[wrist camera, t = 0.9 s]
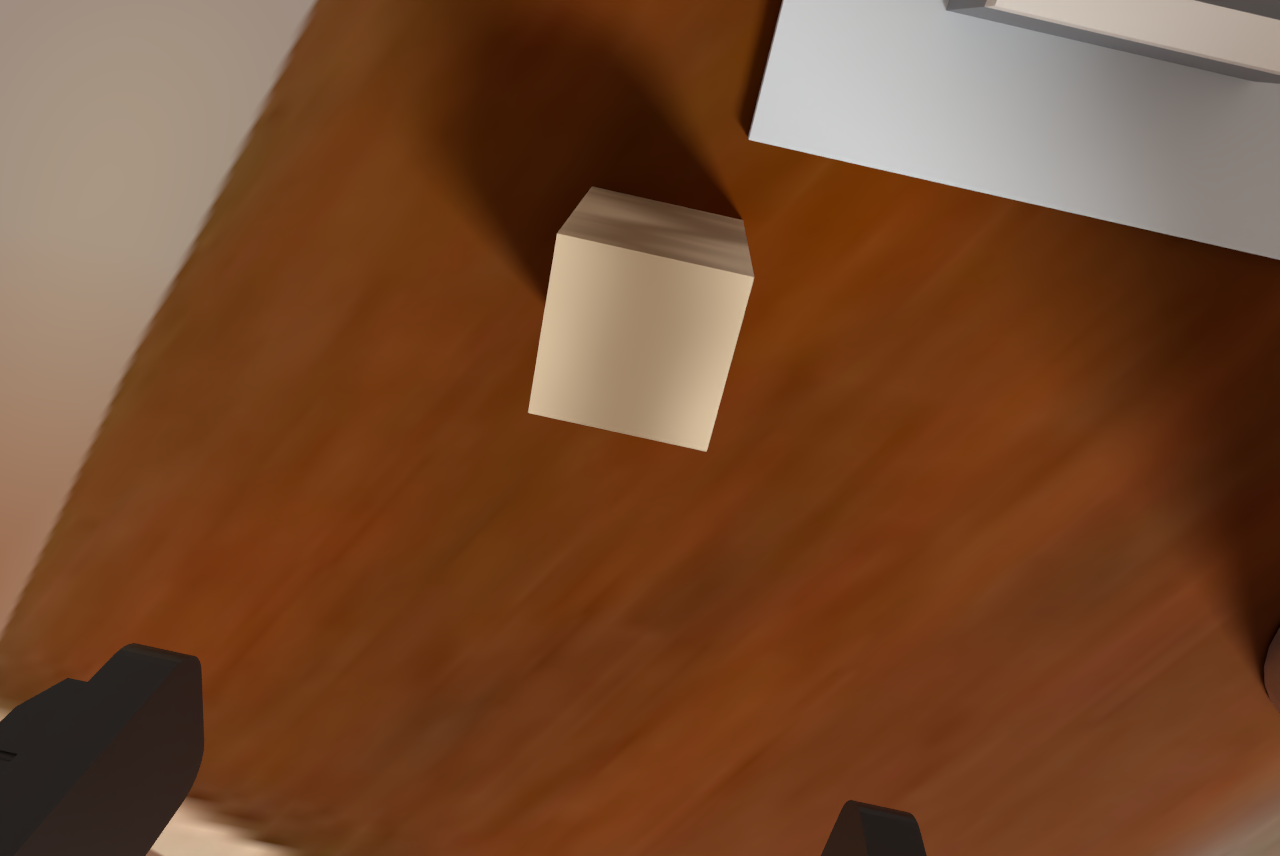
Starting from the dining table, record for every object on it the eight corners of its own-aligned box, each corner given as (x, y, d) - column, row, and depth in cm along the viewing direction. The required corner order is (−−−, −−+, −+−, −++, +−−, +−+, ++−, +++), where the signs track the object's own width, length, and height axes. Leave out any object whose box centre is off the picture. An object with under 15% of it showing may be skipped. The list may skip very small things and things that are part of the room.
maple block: (742, 219, 27) (753, 277, 21) (706, 360, 29) (706, 451, 23) (592, 186, 27) (556, 233, 20) (566, 330, 29) (527, 412, 23)
